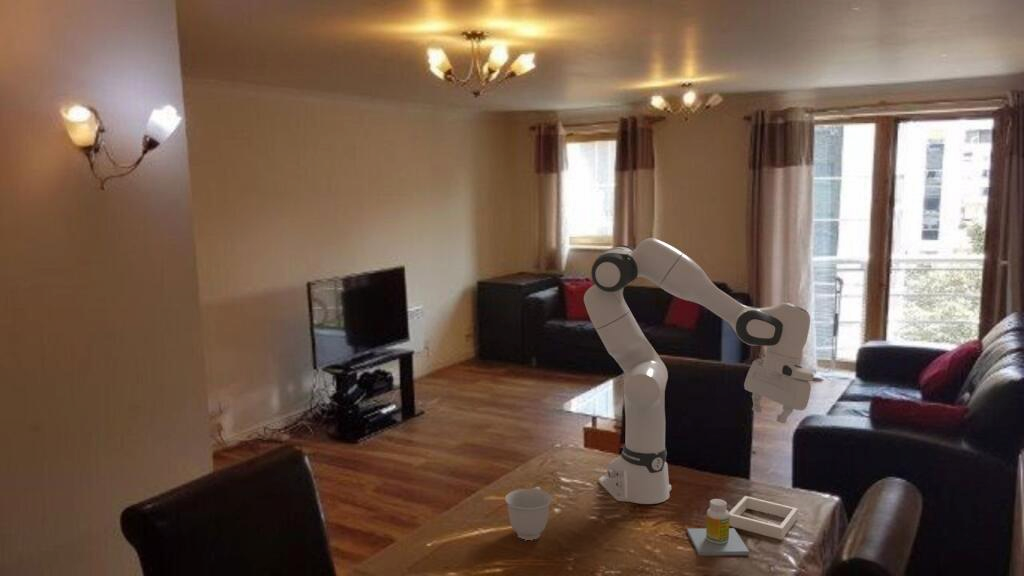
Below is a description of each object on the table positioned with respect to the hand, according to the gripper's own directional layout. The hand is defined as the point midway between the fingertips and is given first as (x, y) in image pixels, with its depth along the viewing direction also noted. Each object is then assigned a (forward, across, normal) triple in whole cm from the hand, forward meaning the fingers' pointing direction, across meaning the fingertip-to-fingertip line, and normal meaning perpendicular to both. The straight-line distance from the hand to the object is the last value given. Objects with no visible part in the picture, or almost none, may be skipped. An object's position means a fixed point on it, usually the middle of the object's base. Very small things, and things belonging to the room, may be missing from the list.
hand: (768, 417), depth 194 cm
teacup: (+42, -15, -52) cm, 69 cm away
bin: (+27, +2, +5) cm, 28 cm away
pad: (+32, +7, -13) cm, 35 cm away
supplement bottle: (+31, +7, -13) cm, 34 cm away
